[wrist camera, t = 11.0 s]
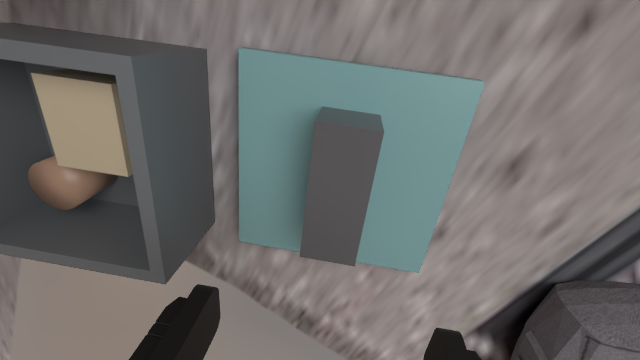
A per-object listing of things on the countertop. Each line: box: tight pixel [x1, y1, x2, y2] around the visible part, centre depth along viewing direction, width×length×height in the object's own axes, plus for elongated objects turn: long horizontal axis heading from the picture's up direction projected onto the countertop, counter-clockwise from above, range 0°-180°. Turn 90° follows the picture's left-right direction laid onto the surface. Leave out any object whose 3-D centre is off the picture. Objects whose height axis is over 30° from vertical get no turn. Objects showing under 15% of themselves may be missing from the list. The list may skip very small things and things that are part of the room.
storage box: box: [0, 23, 215, 284], centre depth 22 cm, size 15×15×8 cm
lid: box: [238, 47, 485, 273], centre depth 22 cm, size 16×16×6 cm
